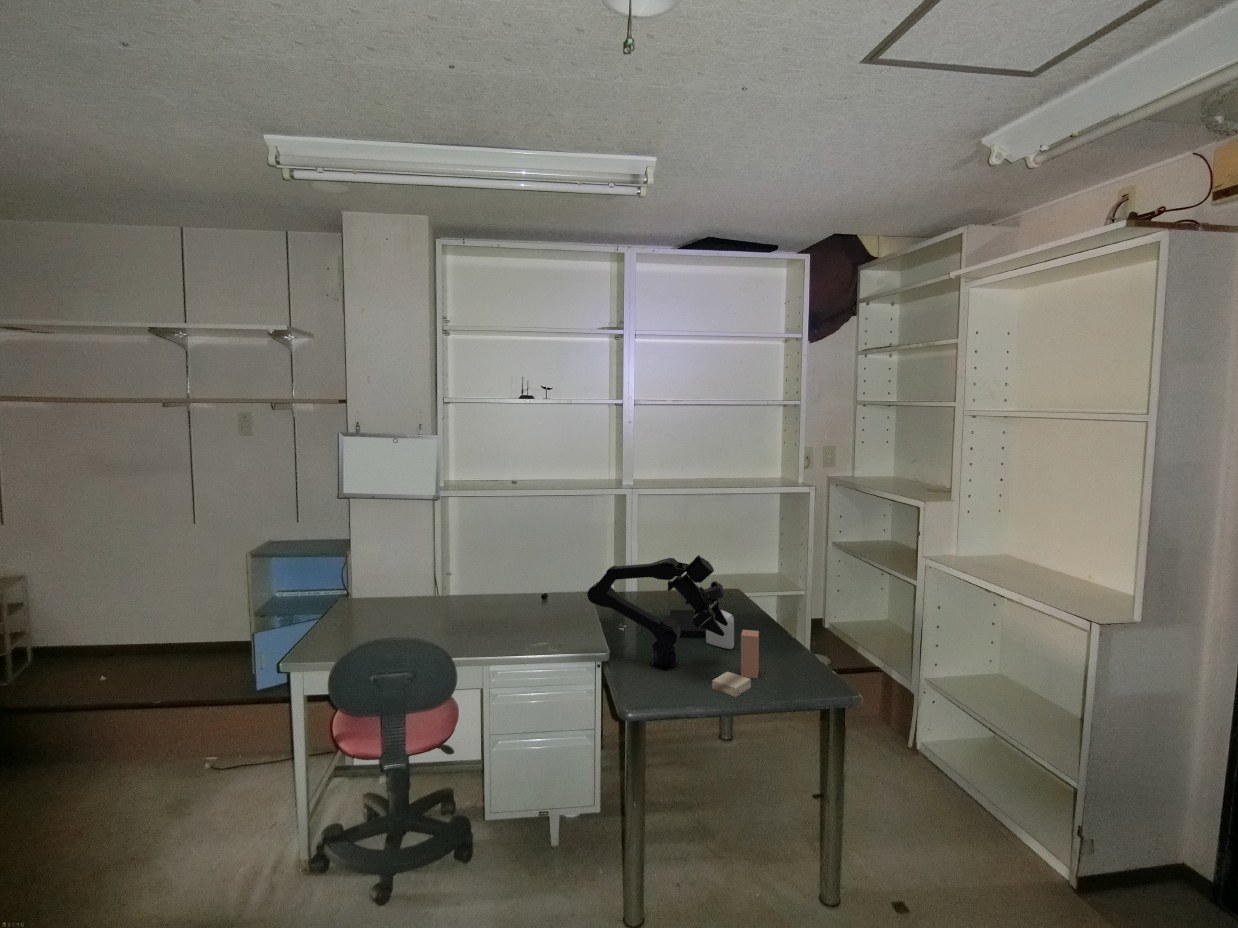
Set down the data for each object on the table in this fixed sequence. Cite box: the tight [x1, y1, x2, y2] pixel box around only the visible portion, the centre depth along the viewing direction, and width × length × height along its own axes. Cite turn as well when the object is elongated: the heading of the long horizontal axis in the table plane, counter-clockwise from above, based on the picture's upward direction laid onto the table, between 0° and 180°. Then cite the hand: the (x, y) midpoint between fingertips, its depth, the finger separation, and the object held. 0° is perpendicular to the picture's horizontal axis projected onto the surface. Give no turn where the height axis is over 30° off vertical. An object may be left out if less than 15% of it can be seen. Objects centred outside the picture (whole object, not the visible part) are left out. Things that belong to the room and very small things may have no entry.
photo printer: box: [705, 609, 735, 650], centre depth 217 cm, size 10×4×12 cm, turn 47°
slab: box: [711, 671, 752, 698], centre depth 185 cm, size 8×8×3 cm
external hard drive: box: [669, 609, 706, 639], centre depth 236 cm, size 14×23×3 cm, turn 175°
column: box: [740, 629, 760, 679], centre depth 194 cm, size 5×5×13 cm
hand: (725, 629), depth 195 cm, fingers open, 9 cm apart
